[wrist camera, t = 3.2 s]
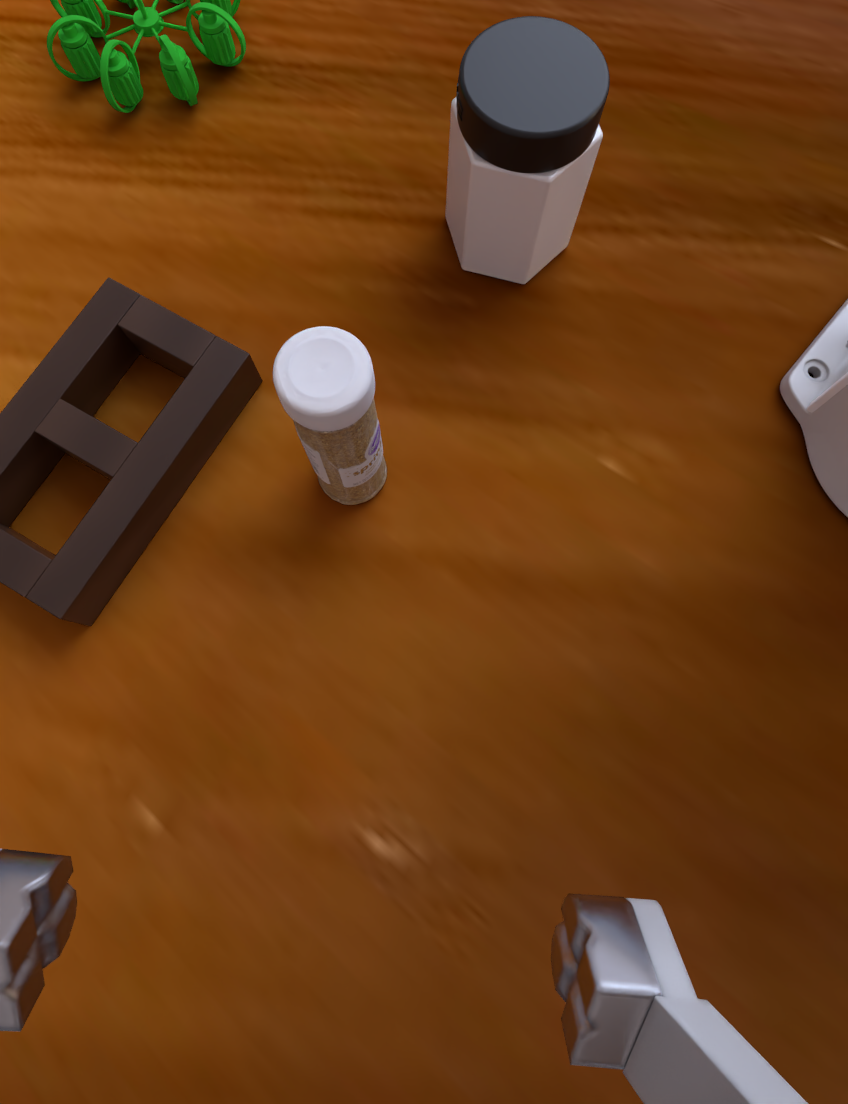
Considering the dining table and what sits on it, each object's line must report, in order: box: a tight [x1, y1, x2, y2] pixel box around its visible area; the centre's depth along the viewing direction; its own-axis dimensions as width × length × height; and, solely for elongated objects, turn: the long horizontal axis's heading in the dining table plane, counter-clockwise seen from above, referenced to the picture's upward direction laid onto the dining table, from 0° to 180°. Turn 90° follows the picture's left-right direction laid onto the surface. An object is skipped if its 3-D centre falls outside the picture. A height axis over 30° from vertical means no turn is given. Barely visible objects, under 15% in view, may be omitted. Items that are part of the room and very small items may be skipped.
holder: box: [0, 278, 262, 626], centre depth 40 cm, size 11×19×4 cm, turn 150°
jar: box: [446, 16, 610, 284], centre depth 40 cm, size 9×8×12 cm
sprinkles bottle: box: [273, 326, 387, 505], centre depth 35 cm, size 5×5×13 cm
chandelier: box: [47, 0, 246, 113], centre depth 46 cm, size 15×15×7 cm
